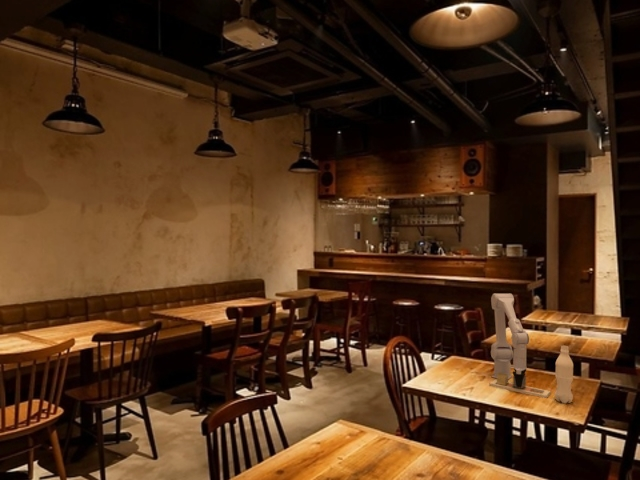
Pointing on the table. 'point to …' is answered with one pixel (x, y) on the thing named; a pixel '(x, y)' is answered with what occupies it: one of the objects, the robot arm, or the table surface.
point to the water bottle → (564, 376)
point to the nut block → (522, 383)
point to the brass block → (502, 379)
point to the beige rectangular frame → (526, 391)
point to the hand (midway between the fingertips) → (519, 385)
